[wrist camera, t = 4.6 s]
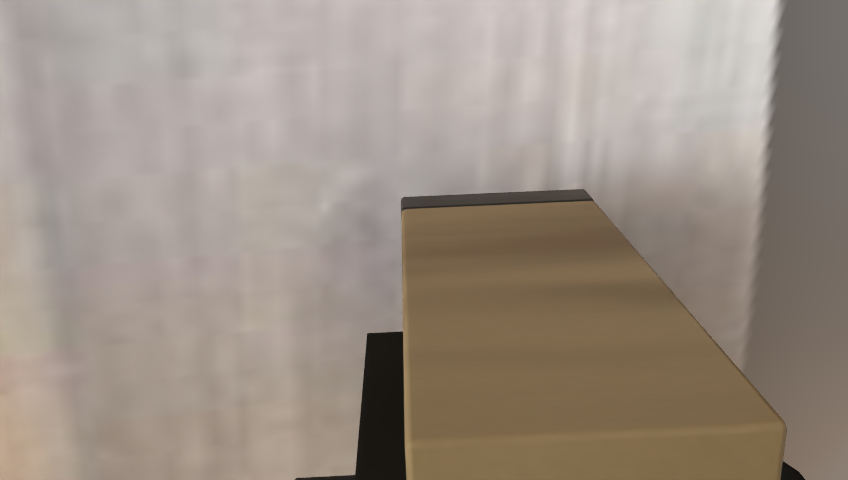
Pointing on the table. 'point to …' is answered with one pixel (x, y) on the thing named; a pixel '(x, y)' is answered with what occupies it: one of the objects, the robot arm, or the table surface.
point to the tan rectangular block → (561, 353)
